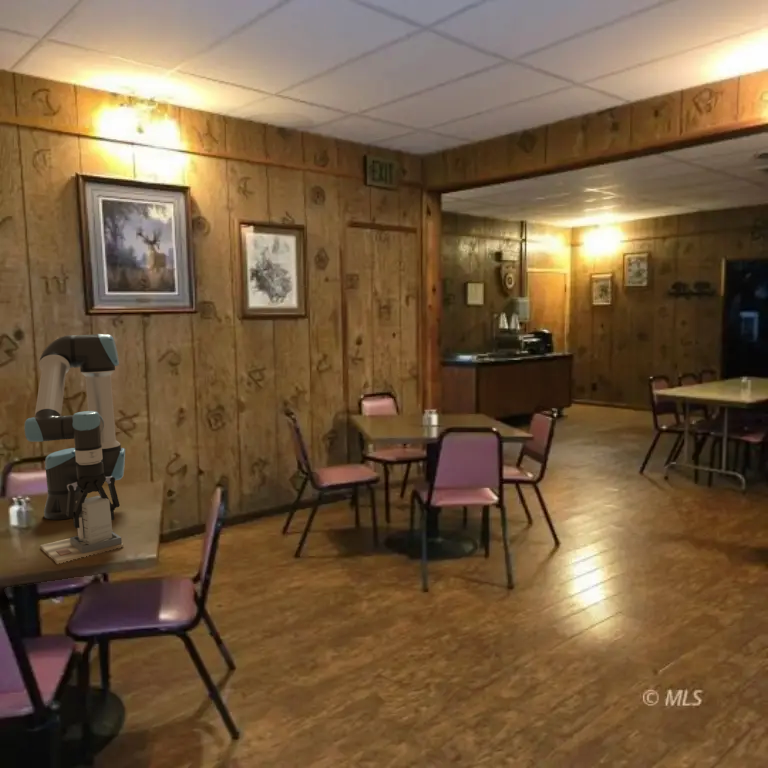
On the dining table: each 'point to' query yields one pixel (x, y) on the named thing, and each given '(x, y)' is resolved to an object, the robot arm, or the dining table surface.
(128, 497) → the dining table surface
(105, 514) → the supplement box
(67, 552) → the board
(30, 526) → the dining table surface
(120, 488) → the dining table surface
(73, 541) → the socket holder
